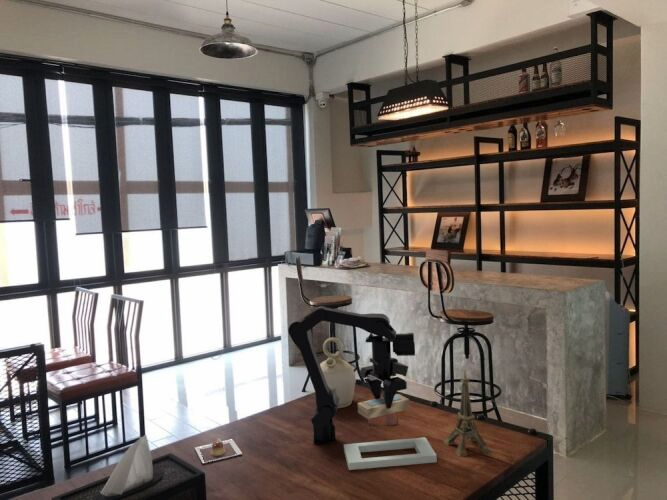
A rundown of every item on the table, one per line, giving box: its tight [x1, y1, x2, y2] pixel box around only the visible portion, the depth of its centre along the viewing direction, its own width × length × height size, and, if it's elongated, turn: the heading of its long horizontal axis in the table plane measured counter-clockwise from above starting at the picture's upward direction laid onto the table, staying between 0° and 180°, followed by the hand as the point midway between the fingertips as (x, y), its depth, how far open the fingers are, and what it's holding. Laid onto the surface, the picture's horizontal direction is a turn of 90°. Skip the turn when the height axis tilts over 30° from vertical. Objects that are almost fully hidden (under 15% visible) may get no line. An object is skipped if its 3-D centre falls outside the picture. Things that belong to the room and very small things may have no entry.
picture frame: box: [357, 393, 410, 420], centre depth 167 cm, size 15×6×3 cm, turn 117°
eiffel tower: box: [442, 370, 493, 458], centre depth 160 cm, size 11×11×25 cm
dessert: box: [194, 438, 243, 464], centre depth 165 cm, size 12×12×5 cm
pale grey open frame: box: [343, 437, 438, 471], centre depth 157 cm, size 25×12×2 cm, turn 95°
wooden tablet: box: [367, 397, 398, 427], centre depth 192 cm, size 27×10×2 cm, turn 177°
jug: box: [320, 336, 356, 409], centre depth 201 cm, size 15×16×25 cm
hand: (383, 405), depth 167 cm, fingers closed on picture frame, 6 cm apart
